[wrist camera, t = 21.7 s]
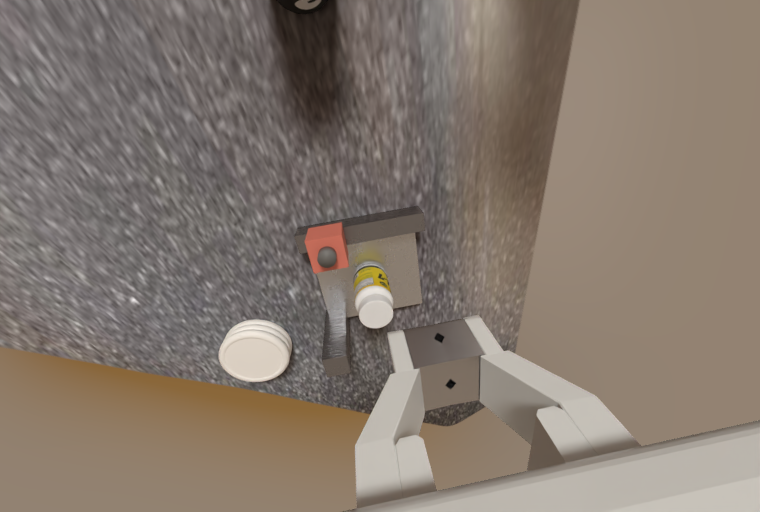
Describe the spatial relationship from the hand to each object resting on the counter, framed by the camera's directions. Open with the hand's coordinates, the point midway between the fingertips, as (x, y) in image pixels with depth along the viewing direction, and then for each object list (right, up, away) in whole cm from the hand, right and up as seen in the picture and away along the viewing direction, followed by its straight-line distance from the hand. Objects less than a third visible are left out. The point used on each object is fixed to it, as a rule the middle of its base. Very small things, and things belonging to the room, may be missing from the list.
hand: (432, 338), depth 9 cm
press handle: (-8, +5, +26) cm, 27 cm away
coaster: (-21, -11, +36) cm, 43 cm away
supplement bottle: (-3, 0, +31) cm, 31 cm away
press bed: (-3, 0, +32) cm, 32 cm away
